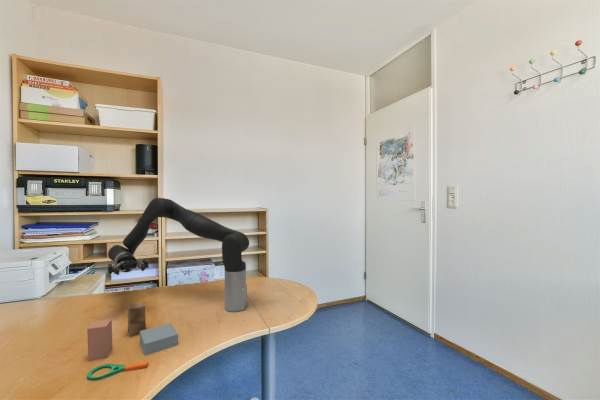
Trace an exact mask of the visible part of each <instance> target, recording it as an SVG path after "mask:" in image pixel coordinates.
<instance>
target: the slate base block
mask: <svg viewBox="0 0 600 400" xmlns="http://www.w3.org/2000/svg"><path fill="white" fill-rule="evenodd" d="M139 342H140V343H139V344H140V346H141V348H142V352H143V353H144V354H143V355H144V356H147V355H150V354H154V353H157V352H160V351H164V350H166V349H169V348H173V347H175V346H178V345H179V333H178V332H177V330H176V328H175V327H174V325H173V324H172V322H169V323H165V324H162V325H157V326H154V327H151V328H146V330H142V331H140V334H139Z"/></svg>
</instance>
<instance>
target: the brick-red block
mask: <svg viewBox="0 0 600 400" xmlns="http://www.w3.org/2000/svg"><path fill="white" fill-rule="evenodd" d="M112 323H113V320H112V318H111V319H110V318H109V319H102V320H95V321H94V320H93V321H92V323H91V324H90V325H89V326H88V328H87V329H86V331H87V362H88V361H95V360H101V359H105V358H108V357H109V355H110V353H111V351H113V326H112V325H113V324H112Z"/></svg>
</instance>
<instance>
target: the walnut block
mask: <svg viewBox="0 0 600 400" xmlns="http://www.w3.org/2000/svg"><path fill="white" fill-rule="evenodd" d="M146 319H147V318H146V304H145V303H144V302H143V301H139V302H134V303H130V304H127V332H128V336H129V337H130V338H132V337H134V336H140V331H142V330H146V329H147V328H146Z"/></svg>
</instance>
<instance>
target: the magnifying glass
mask: <svg viewBox="0 0 600 400" xmlns="http://www.w3.org/2000/svg"><path fill="white" fill-rule="evenodd" d="M148 366H149V361H148V360H145V361H140V362H136V363H135V362H134V363H130V364H115V363H105V364H101V365H98V366H95V367H93V368H91V369H90V370H89V371H88V372H87V374H86V378H87V379H88V380H89V381H93V382H94V381H101V380H104V379H106V378H109V377H112V376H115V375H117V374H119V373H123V372H129V371H135V370H140V369H145V368H148ZM103 369H110V370H109V371H108V372H107V373H105V374H103V375H99V376H93V374H94V373H96V372H98V371H99V370H103Z"/></svg>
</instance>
